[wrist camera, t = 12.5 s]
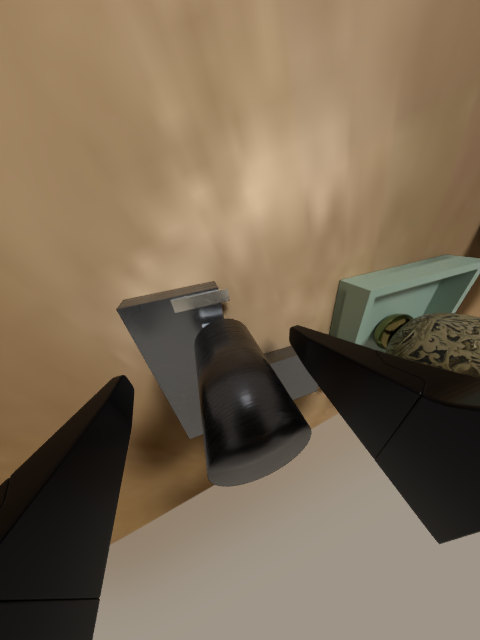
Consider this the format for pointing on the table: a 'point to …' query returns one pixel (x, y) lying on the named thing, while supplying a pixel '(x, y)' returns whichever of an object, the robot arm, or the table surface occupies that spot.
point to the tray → (401, 295)
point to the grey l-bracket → (192, 346)
